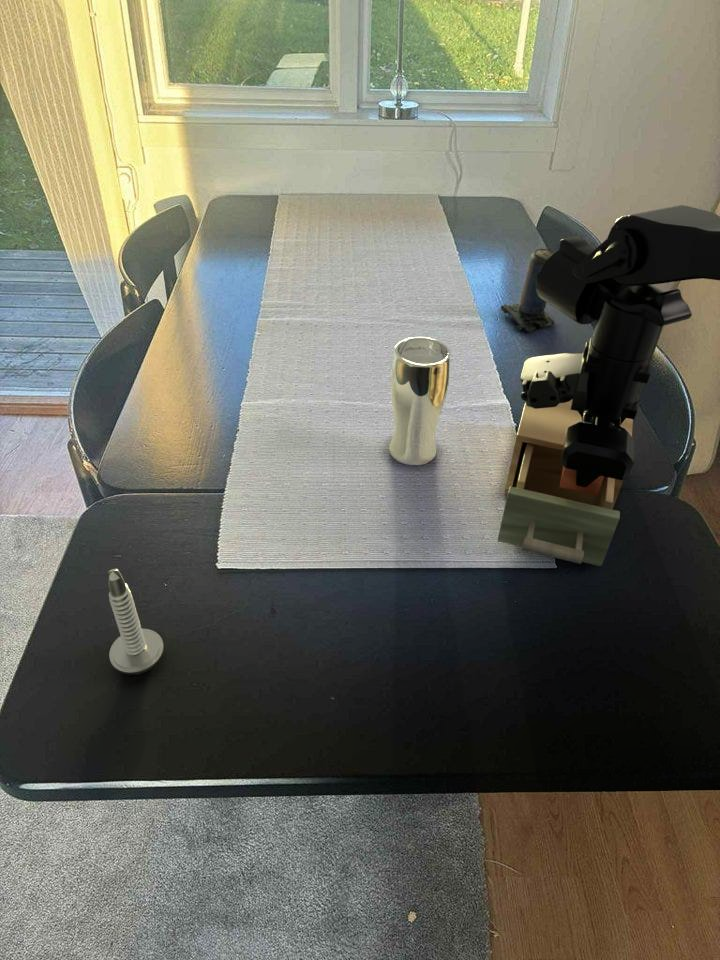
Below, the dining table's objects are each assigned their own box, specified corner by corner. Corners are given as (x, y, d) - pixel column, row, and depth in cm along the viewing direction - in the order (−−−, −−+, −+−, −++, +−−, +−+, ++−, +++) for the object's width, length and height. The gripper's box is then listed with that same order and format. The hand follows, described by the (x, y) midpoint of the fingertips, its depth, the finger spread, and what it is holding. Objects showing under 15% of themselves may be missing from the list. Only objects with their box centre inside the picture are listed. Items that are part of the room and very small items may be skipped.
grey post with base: (560, 325, 118) (577, 257, 111) (524, 335, 116) (539, 266, 108) (527, 303, 124) (540, 237, 116) (492, 311, 121) (503, 244, 114)
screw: (141, 694, 64) (102, 670, 65) (177, 656, 67) (139, 634, 69) (112, 603, 55) (68, 578, 57) (155, 564, 58) (113, 541, 60)
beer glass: (440, 469, 89) (454, 367, 79) (386, 467, 89) (393, 365, 79) (437, 435, 94) (450, 336, 84) (385, 434, 94) (392, 334, 84)
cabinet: (609, 518, 83) (631, 459, 77) (503, 494, 86) (516, 435, 80) (615, 446, 93) (634, 389, 88) (520, 427, 96) (533, 370, 90)
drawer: (598, 595, 73) (617, 547, 68) (490, 567, 75) (501, 519, 70) (608, 488, 86) (624, 441, 81) (515, 468, 88) (525, 421, 83)
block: (599, 473, 77) (609, 444, 75) (597, 495, 74) (606, 467, 72) (562, 465, 78) (571, 436, 76) (559, 487, 75) (567, 458, 73)
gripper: (547, 290, 74) (520, 411, 84) (521, 380, 60) (493, 511, 71) (657, 308, 72) (615, 430, 82) (656, 406, 58) (606, 538, 68)
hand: (582, 473), depth 76 cm, fingers closed on block, 4 cm apart
